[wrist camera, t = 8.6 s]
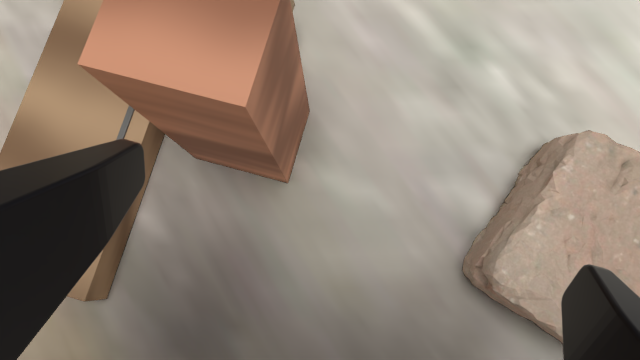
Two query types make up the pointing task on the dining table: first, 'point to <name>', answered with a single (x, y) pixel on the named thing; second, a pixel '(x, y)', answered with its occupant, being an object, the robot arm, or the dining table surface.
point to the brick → (561, 227)
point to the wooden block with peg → (208, 76)
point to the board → (78, 126)
